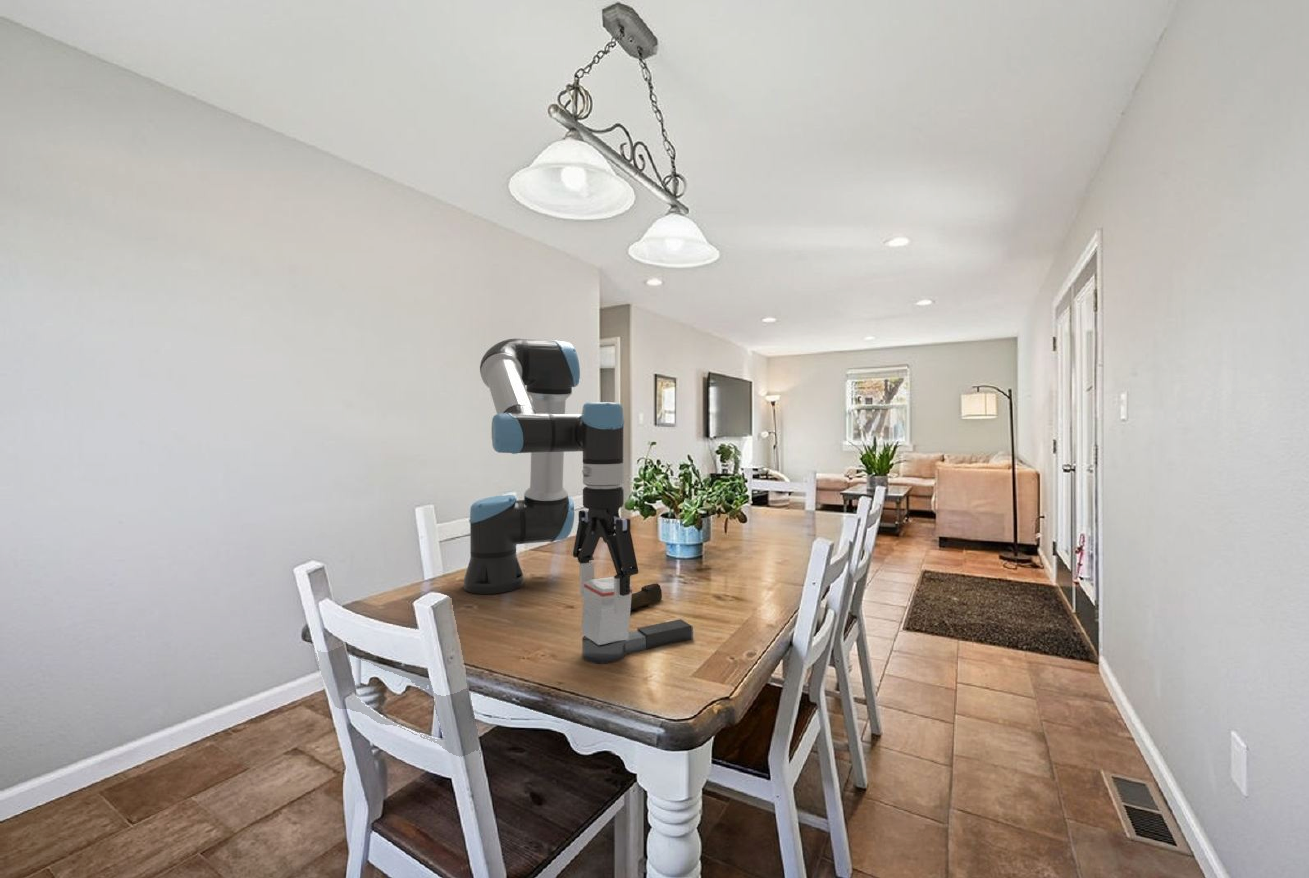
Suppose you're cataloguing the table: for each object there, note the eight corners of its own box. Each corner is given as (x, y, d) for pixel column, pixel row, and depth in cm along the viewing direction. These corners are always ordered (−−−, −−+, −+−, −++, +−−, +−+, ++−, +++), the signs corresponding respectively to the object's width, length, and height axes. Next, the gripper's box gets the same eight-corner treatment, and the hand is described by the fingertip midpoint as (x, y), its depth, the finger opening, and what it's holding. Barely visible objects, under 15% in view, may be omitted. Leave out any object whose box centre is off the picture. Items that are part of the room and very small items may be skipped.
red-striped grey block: (580, 632, 104) (584, 580, 104) (609, 627, 108) (613, 576, 108) (598, 645, 99) (602, 589, 99) (628, 639, 103) (632, 585, 103)
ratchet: (592, 666, 98) (591, 625, 98) (576, 650, 105) (575, 611, 105) (698, 642, 109) (699, 604, 109) (677, 628, 116) (677, 593, 116)
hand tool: (608, 623, 120) (608, 602, 120) (597, 618, 123) (596, 597, 122) (669, 603, 133) (669, 584, 133) (657, 599, 136) (657, 580, 136)
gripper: (554, 482, 109) (555, 592, 110) (623, 494, 91) (623, 626, 92) (587, 479, 114) (587, 585, 115) (658, 490, 96) (658, 616, 96)
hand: (603, 603), depth 103 cm, fingers open, 11 cm apart
